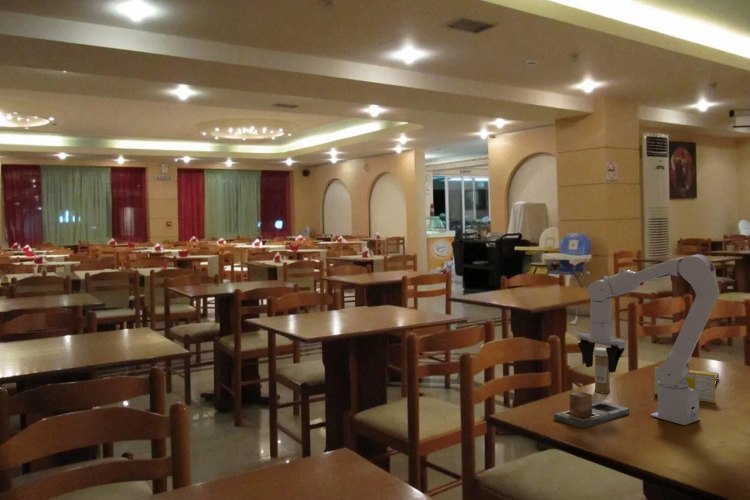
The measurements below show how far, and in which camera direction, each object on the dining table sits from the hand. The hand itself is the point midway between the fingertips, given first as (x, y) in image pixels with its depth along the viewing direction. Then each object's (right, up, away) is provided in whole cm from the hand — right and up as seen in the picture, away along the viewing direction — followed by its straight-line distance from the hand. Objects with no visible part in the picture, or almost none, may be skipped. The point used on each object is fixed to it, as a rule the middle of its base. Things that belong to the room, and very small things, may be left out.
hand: (600, 369), depth 174 cm
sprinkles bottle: (+6, -10, +14) cm, 18 cm away
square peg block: (-10, -11, -12) cm, 19 cm away
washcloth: (+40, -10, +24) cm, 47 cm away
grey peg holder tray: (-6, -11, -9) cm, 16 cm away
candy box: (+27, -10, +7) cm, 30 cm away
